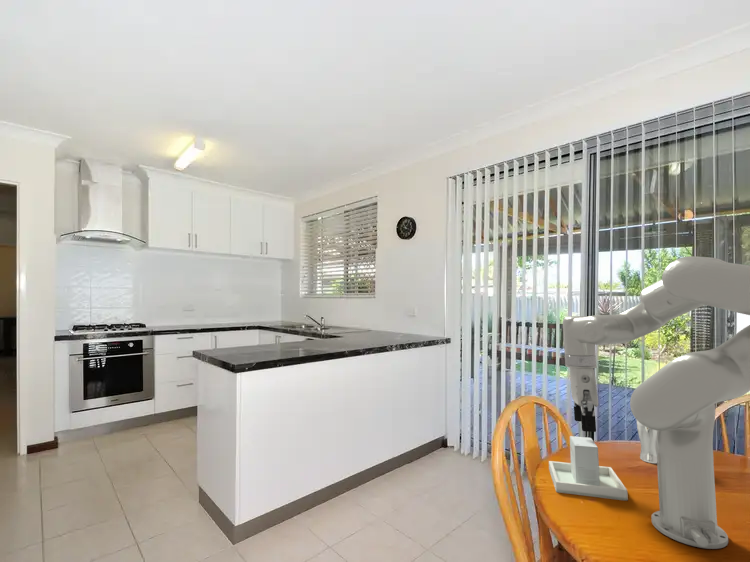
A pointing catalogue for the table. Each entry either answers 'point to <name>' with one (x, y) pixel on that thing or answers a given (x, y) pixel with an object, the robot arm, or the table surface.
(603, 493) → the carrier tray
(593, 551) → the table surface
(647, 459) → the beer glass
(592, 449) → the small box
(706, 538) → the robot arm
